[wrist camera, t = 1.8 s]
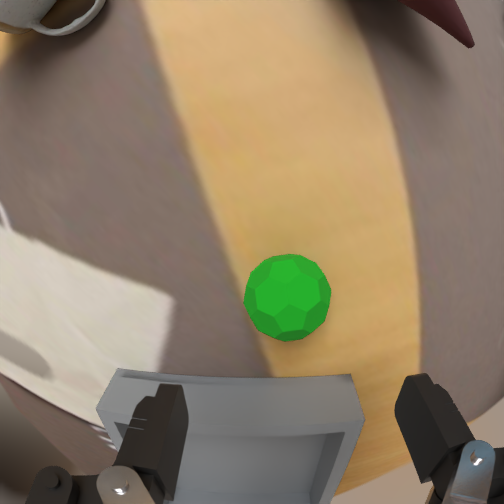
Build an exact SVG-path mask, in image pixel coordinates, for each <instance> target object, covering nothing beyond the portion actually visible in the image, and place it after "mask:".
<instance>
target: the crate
mask: <svg viewBox="0 0 504 504" xmlns="http://www.w3.org/2000/svg"><path fill="white" fill-rule="evenodd" d="M160 383H166V384H178V385H182V387H183V390H184V395H185V400H186V404H187V409H188V414H189V424H188V431H187V435H186V440H185V445H184V450H183V455H182V460H181V465H180V470H179V475H178V480H177V485H176V490H175V495H174V501H168V500H164V502H163V504H330V502H331V500H332V498H333V496H334V494H335V492H336V489H337V487H338V485H339V483H340V481H341V479H342V476H343V474H344V472H345V470H346V467H347V465H348V463H349V460H350V458H351V455H352V453H353V450H354V448H355V445H356V443H357V440H358V438H359V435H360V432H361V430H362V427H363V424H364V421H365V417H364V414H363V411H362V408H361V405H360V401H359V398H358V395H357V392H356V389H355V386H354V383H353V380H352V377H351V374H345V375H331V376H314V377H288V378H232V377H206V376H188V375H175V374H163V373H153V372H143V371H134V370H126V369H119V368H118V369H117V370H116V372H115V374H114V376H113V377H112V379H111V381H110V383H109V385H108V387H107V388H106V390H105V392H104V394H103V396H102V398H101V399H100V401H99V403H98V405H97V407H96V411H97V413H98V415H99V417H100V419H101V421H102V423H103V425H104V427H105V429H106V431H107V432H108V434H109V436H110V438H111V440H112V442H113V443H114V445H115V447H116V449H117V451H118V452H119V449H120V447H121V444H122V441H123V439H124V436H125V433H126V431H127V428H128V425H129V423H130V420H131V419H132V415H133V412H134V410H135V407H136V405H137V404H138V403H139V402H140V401H141V400H142V399H143V398H144V397H145V396H153V397H155V395H156V392H157V389H158V386H159V384H160Z"/></svg>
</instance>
